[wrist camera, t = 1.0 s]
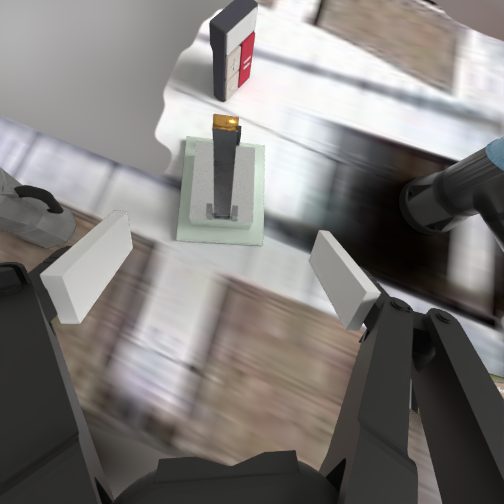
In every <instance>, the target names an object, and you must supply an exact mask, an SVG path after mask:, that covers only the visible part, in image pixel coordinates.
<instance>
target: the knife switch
mask: <svg viewBox="0 0 504 504" xmlns="http://www.w3.org/2000/svg"><path fill="white" fill-rule="evenodd" d="M212 130H213V129H212ZM240 137H241V126H238V133H237V144H236V155H235V166H234V178H233V189H232V200H231V212H230V217H227V216H214V157H213V143H211V142H203V141H196V149H195V160H194V171H193V182H192V193H191V204H190V215H189V218H190V221H191V223H192V226H202V227H216V228H230V229H245V230H250V228H251V226H252V224H253V208H254V173H255V148H253V147H245V146H239V145H240Z"/></svg>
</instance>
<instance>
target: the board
mask: <svg viewBox="0 0 504 504" xmlns="http://www.w3.org/2000/svg"><path fill="white" fill-rule="evenodd" d="M196 141H203V142H211V143H213V139H206V138H198V137H190V136H187V137H186V147H185V157H184V166H183V176H182V186H181V196H180V206H179V215H178V225H177V235H176V239H177V241H190V242H207V243H223V244H240V245H256V246H262V245H263V228H264V171H265V146H264V145H256V144H247V143H240V145H239V146H245V147H253V148H255V173H254V208H253V224H252V226H251V228H250V230H245V229H230V228H216V227H202V226H192V223H191V221H190V218H189V215H190V204H191V193H192V182H193V171H194V160H195V149H196Z"/></svg>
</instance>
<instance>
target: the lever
mask: <svg viewBox="0 0 504 504" xmlns="http://www.w3.org/2000/svg"><path fill="white" fill-rule="evenodd" d="M238 121H239V117H234V116H227V115H219V114H214V115H213V157H214V216H227V217H230V212H231V200H232V189H233V178H234V166H235V155H236V144H237V133H238Z"/></svg>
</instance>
